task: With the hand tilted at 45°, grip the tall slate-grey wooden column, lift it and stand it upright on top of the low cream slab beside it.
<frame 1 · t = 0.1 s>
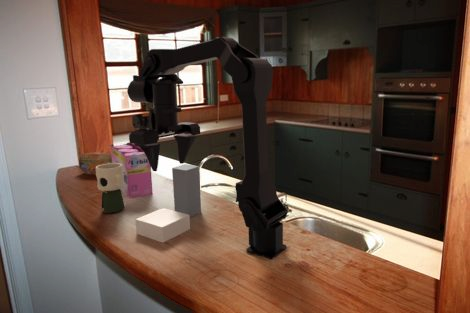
hand: (168, 167, 93), 15 cm above the countertop, tool pointing down, fingers open, 9 cm apart
grey column: (188, 213, 102), on the countertop
cream slab: (163, 232, 91), on the countertop
tin: (98, 174, 147), on the countertop
gum box: (132, 188, 128), on the countertop
character mug: (113, 211, 106), on the countertop
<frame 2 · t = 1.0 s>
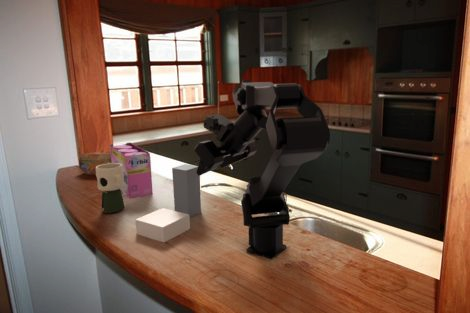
hand: (209, 170, 95), 13 cm above the countertop, tool tilted 45°, fingers open, 9 cm apart
nothing on the countertop moved.
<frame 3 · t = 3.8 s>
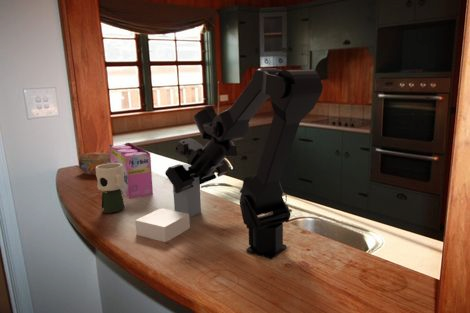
hand: (183, 189, 102), 7 cm above the countertop, tool tilted 45°, fingers closed on grey column, 5 cm apart
grey column: (188, 213, 102), on the countertop, touching gripper
everything else where it was.
when the fingers open (11 cm above the countertop, at t = 7.3 s): grey column drops 1 cm, point 4 cm above the countertop.
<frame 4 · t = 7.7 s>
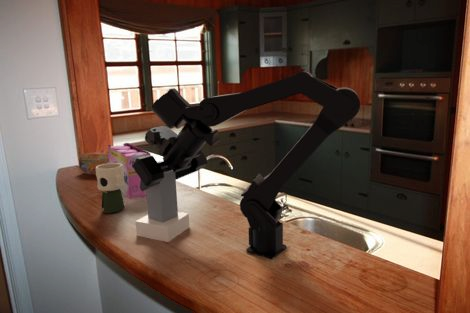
hand: (156, 184, 90), 12 cm above the countertop, tool tilted 45°, fingers open, 9 cm apart
grey column: (163, 217, 91), point 4 cm above the countertop
everything else where it was.
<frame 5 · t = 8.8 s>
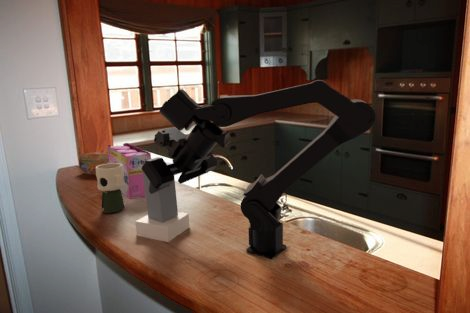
hand: (165, 187, 88), 11 cm above the countertop, tool tilted 45°, fingers open, 9 cm apart
grey column: (163, 216, 91), point 4 cm above the countertop, touching cream slab
cream slab: (163, 232, 91), on the countertop, touching grey column
everything else where it was.
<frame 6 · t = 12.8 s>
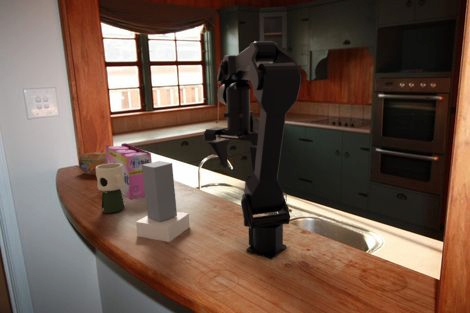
hand: (239, 169, 96), 13 cm above the countertop, tool pointing down, fingers open, 9 cm apart
at the end: grey column 0.3 cm off-centre on the cream slab, point 4.1 cm above the cream slab's base; grey column tilted 2°; the gripper is holding nothing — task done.
